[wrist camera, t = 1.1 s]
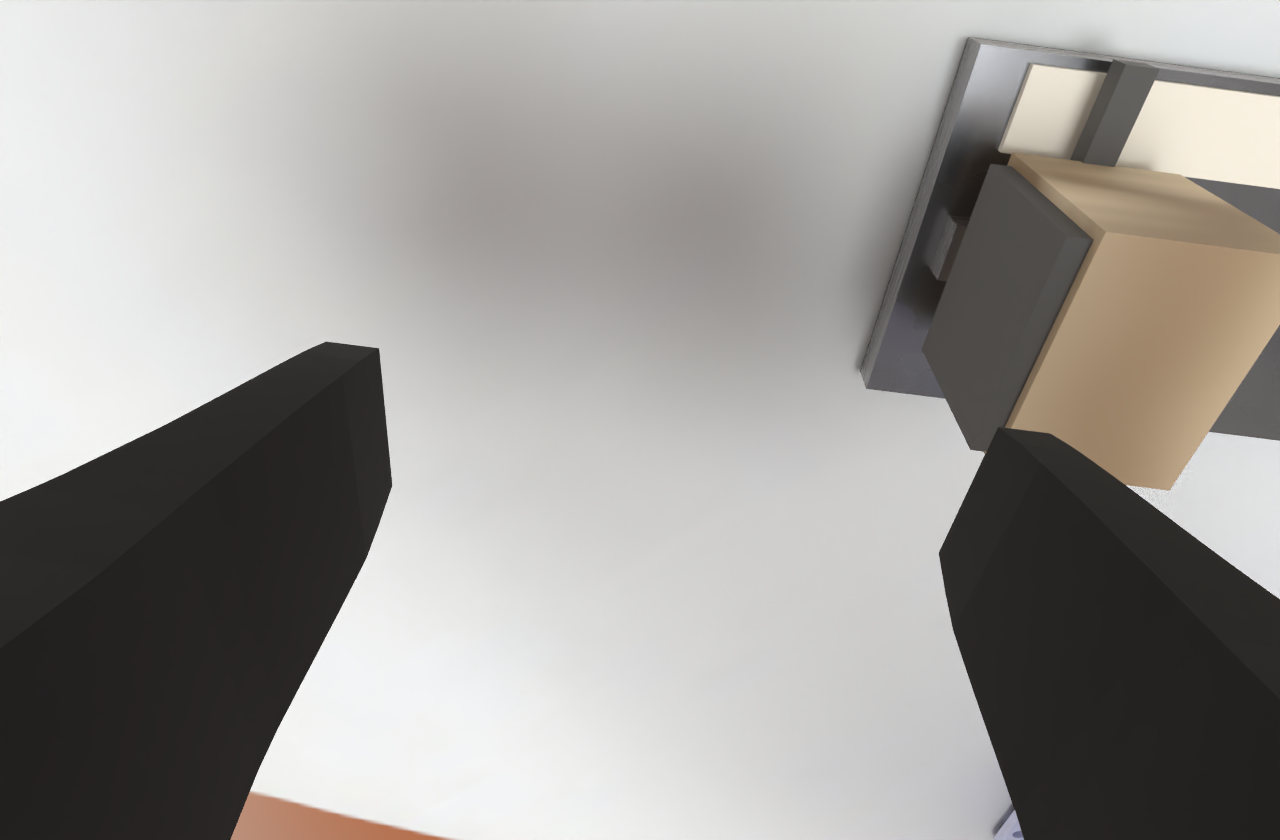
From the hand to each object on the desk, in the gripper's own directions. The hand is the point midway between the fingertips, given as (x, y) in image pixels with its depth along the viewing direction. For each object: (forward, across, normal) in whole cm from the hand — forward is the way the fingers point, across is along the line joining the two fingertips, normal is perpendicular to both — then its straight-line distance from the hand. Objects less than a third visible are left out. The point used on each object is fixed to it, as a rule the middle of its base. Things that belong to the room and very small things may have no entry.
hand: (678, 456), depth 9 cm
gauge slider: (+8, -7, -1) cm, 11 cm away
